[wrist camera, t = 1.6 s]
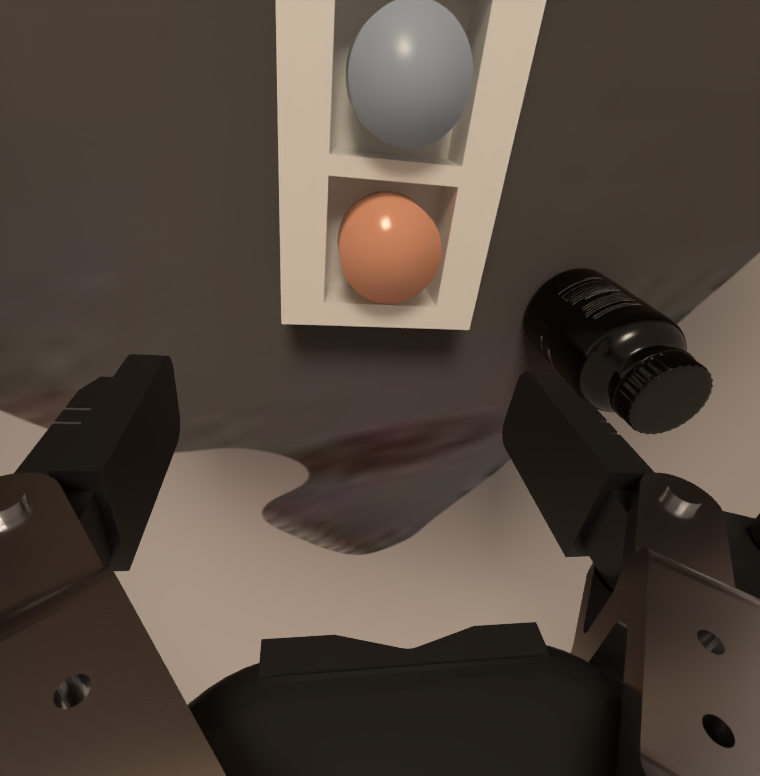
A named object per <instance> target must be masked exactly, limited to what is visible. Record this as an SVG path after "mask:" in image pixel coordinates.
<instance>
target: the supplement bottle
mask: <svg viewBox="0 0 760 776" xmlns="http://www.w3.org/2000/svg"><path fill="white" fill-rule="evenodd" d="M525 326H526V331H527V334H528V336H529V338H530V339H531V341H532V342H533V344H534V345H535V346H536V347H537V348H538V350H539V351H540V352H541V353H542V354H543V355H544V356H545V358H546V359H547V360H548V361H549V362H550V363H551V364H552V366H553V367H554V368H555V369H556V370H557V371H558V372H559V374H560V375H561V376H562V377H563V378H564V379H565V381H566V382H567V383H568V384H569V385H570V386H571V387H572V389H573V390H574V391H575V392H576V393H577V394H578V395H579V396H580V397H581V398H582V399H584V400H585V401H587V402H588V403H590V404H591V405H593V406H594V407H595V408H596V409H598V410H602V411H606V412H616V413H617V415H619V416H620V417H621V418H623V419H624V420H625V421H626V422H627V423H628V424H629V425H630V426H631V427H632V428H633V429H634V430H636V431H638V432H640V433H645V434H657V433H663V432H665V431H670V430H672V429H674V428H677V427H678V426H680V425H682V424H684V423H686V421H688V420H689V419H691V418H692V417H693V416H694V415H695V414H697V413H698V412H699V410H700V409H701V408H702V407H703V406H704V405H705V402H706V401H707V400H708V398H709V395H710V393H711V389H712V387H713V385H712V381H713V380H712V378H711V374H710V373H709V372H708V370H707V369H706V368H705V367H704V366H703V365H701V364H700V363H699V362H697V361H696V360H695V359H694V357H693V356H692V355H691V354H690V353H688V352H687V344H686V340H685V336H684V334H683V332H682V331H681V329H680V327H679V326H678V325H677V324H676V323H674V322H673V321H672V320H671V319H669V318H668V317H667V316H665V315H663V314H662V313H660V312H659V311H657V310H656V309H654V308H653V307H651V306H650V305H648V304H647V303H645V302H644V301H642V300H641V299H639V298H638V297H636V296H635V295H633V294H632V293H630V292H629V291H627V290H626V289H624V288H623V287H621V286H620V285H618V284H617V283H615V282H614V281H612V280H610V279H609V278H607V277H606V276H604V275H602V274H601V273H599V272H597V271H594V270H591V269H583V268H579V269H572V270H568V271H565V272H562V273H560V274H558V275H556V276H554V277H552V278H551V279H549V280H548V281H547V282H546V283H544V284H543V285H542V286H541V287H540V288H539V289H538V291H537V292H536V293H535V295H534V296H533V298H532V299H531V301H530V303H529V306H528V308H527V312H526V318H525Z"/></svg>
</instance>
